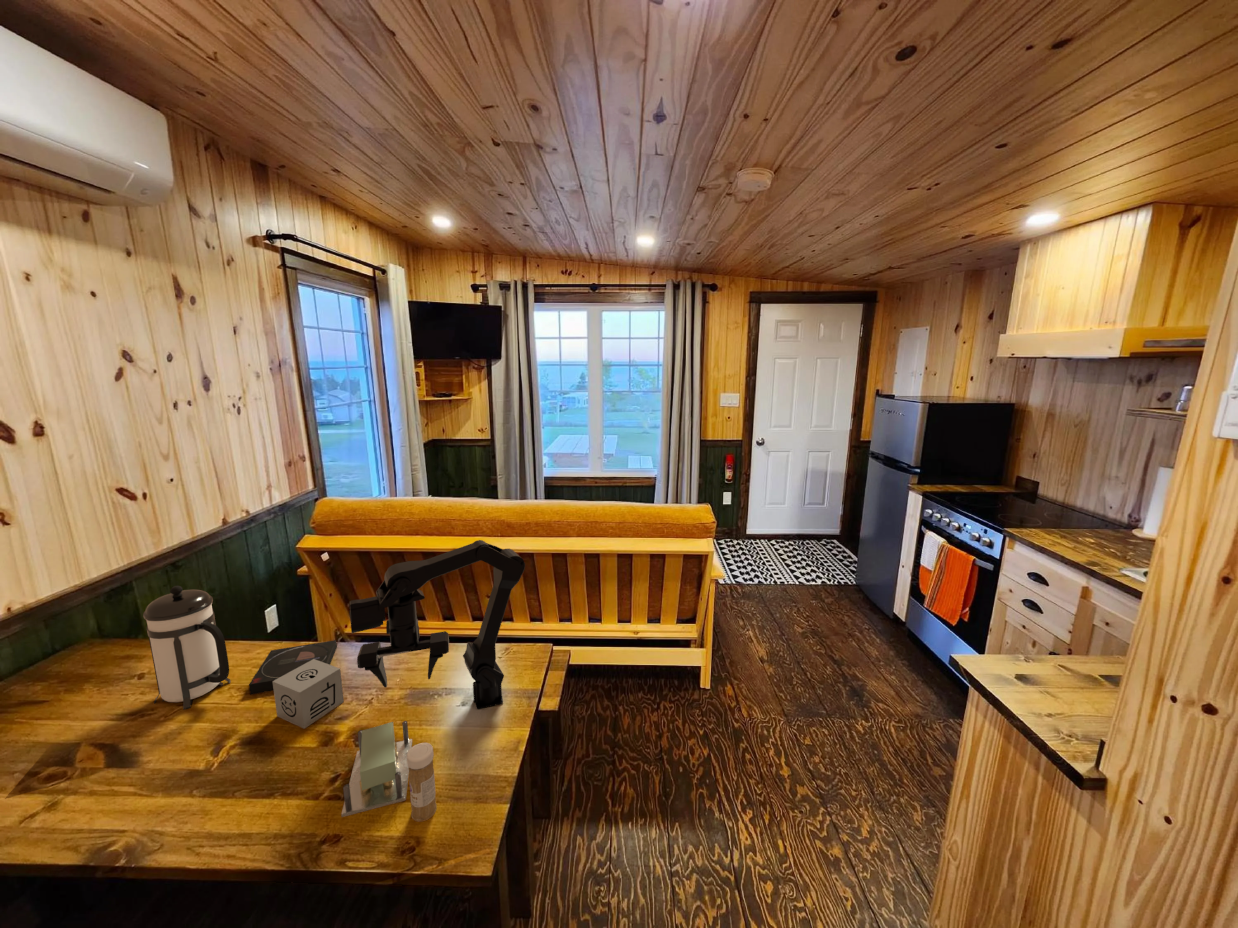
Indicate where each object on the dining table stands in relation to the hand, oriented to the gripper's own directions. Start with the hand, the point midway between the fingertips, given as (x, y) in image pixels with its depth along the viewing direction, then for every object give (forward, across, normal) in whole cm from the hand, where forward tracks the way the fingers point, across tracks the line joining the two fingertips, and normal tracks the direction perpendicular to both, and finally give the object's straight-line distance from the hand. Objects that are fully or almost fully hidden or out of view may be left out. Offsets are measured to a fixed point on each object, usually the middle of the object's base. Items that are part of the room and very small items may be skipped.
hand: (407, 682), depth 109 cm
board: (+8, +5, +13) cm, 16 cm away
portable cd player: (+13, +32, -34) cm, 48 cm away
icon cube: (+12, +24, -14) cm, 31 cm away
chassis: (+12, +5, +13) cm, 18 cm away
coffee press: (+12, +53, -31) cm, 63 cm away
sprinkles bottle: (+12, -4, +25) cm, 28 cm away
